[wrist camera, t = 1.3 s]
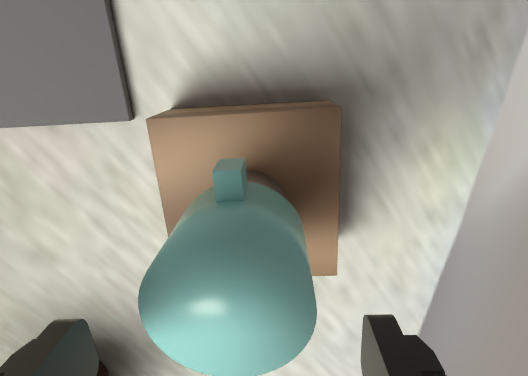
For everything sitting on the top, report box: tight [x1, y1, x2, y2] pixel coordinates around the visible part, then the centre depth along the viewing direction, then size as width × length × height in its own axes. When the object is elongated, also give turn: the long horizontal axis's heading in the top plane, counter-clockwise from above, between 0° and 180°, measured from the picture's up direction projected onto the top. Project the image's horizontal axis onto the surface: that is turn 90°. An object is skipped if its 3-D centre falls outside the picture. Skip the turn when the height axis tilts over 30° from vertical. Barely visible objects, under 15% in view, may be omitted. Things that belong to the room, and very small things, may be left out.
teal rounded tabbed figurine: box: [138, 158, 317, 376], centre depth 12 cm, size 8×6×4 cm
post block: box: [146, 100, 341, 276], centre depth 18 cm, size 10×10×8 cm
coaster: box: [0, 0, 133, 128], centre depth 19 cm, size 9×9×1 cm
